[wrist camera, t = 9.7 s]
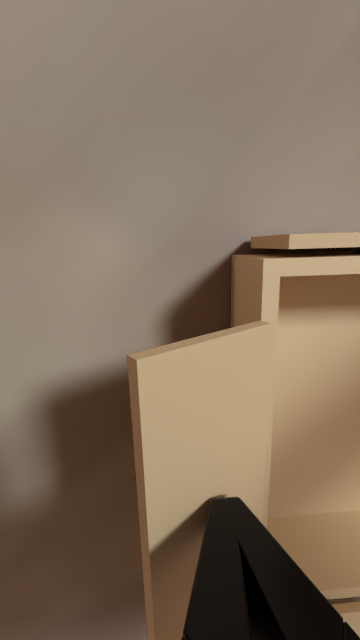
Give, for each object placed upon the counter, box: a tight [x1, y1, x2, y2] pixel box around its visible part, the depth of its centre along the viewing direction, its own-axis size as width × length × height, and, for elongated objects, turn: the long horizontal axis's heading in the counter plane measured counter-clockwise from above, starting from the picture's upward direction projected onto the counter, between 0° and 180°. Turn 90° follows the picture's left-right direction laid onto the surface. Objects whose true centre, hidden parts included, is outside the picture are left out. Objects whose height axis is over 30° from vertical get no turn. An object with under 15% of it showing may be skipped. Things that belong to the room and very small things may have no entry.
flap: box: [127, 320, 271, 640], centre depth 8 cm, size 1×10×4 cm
